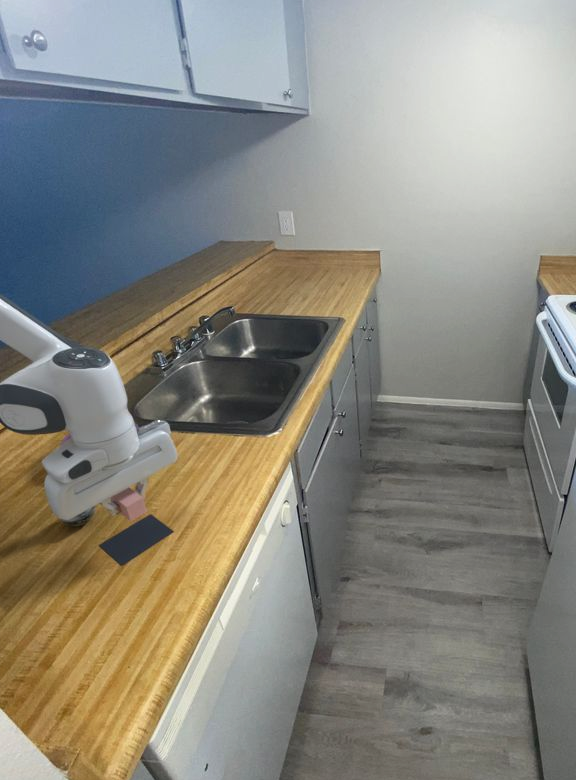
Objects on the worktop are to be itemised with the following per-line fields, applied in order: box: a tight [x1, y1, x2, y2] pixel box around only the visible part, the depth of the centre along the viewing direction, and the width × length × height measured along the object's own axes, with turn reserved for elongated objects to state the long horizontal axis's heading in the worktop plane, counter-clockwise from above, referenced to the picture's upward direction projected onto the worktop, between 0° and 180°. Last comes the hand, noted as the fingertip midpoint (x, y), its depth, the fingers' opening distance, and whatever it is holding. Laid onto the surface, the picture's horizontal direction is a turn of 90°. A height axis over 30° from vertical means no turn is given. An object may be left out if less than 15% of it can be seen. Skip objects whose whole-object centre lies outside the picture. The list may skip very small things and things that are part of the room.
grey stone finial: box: [58, 506, 96, 527], centre depth 88 cm, size 6×6×12 cm
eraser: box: [110, 487, 148, 523], centre depth 84 cm, size 6×3×4 cm, turn 56°
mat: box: [98, 513, 175, 567], centre depth 88 cm, size 10×8×1 cm
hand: (127, 506), depth 84 cm, fingers closed on eraser, 3 cm apart
